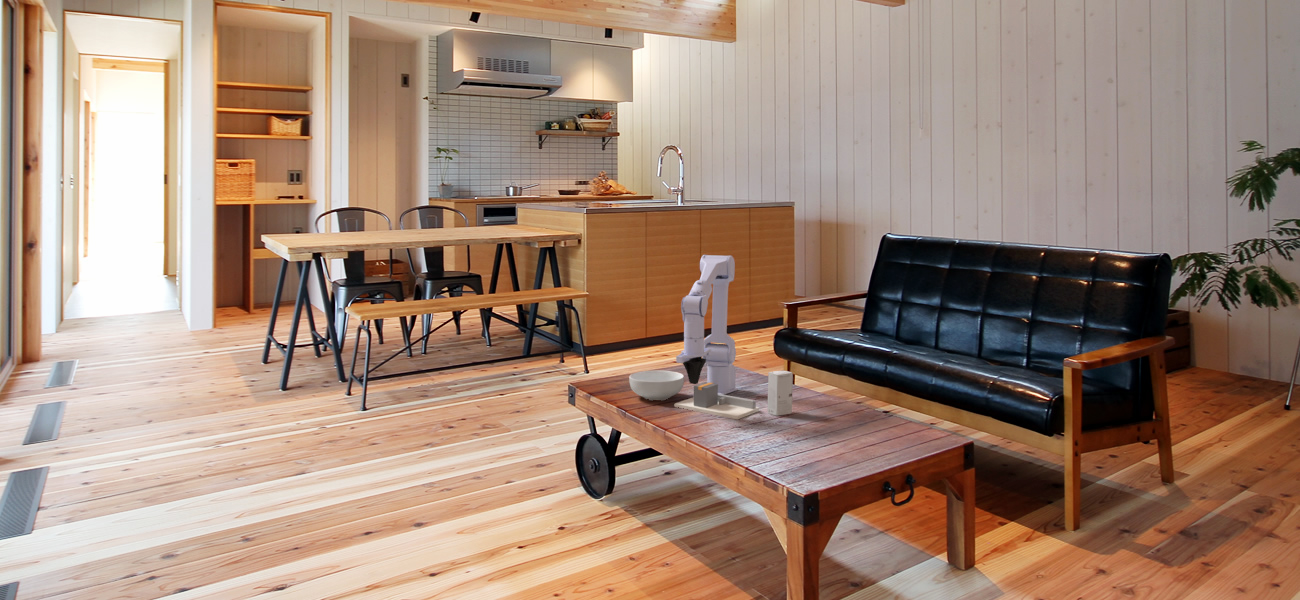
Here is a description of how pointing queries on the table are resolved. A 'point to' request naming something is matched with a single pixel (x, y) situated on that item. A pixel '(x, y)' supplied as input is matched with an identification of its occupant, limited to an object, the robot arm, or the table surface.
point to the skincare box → (780, 392)
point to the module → (705, 395)
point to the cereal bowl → (656, 384)
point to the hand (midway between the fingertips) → (693, 383)
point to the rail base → (724, 407)
